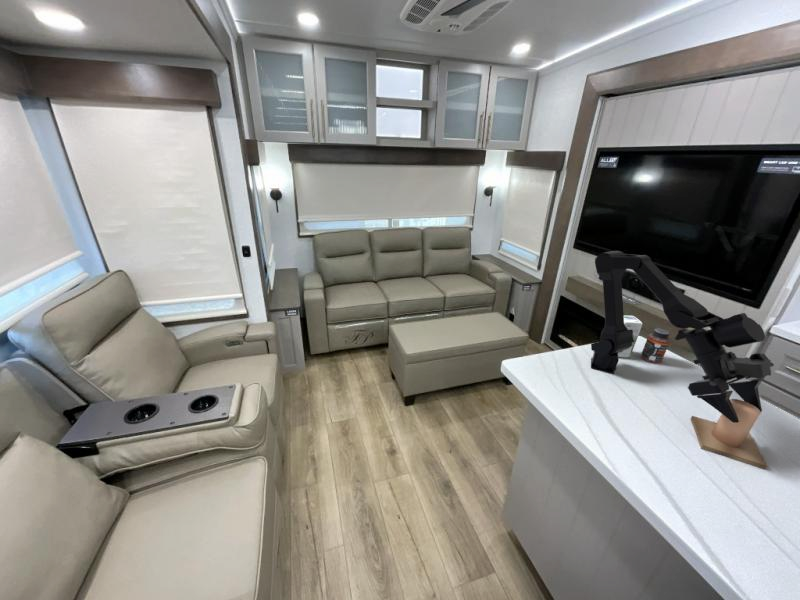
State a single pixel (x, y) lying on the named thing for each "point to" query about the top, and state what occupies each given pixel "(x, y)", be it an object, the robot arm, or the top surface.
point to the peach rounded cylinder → (736, 424)
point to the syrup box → (636, 326)
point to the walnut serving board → (710, 443)
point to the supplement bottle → (656, 346)
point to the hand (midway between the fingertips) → (747, 417)
